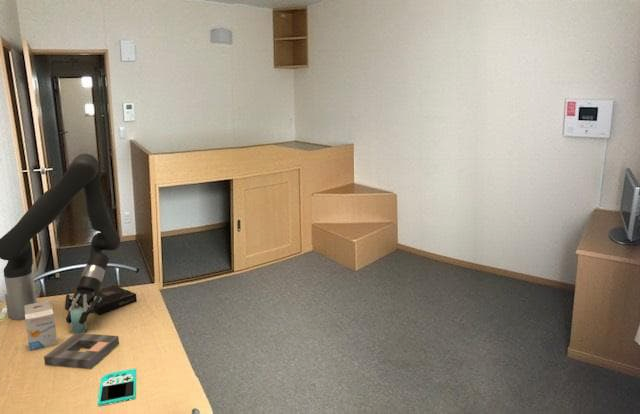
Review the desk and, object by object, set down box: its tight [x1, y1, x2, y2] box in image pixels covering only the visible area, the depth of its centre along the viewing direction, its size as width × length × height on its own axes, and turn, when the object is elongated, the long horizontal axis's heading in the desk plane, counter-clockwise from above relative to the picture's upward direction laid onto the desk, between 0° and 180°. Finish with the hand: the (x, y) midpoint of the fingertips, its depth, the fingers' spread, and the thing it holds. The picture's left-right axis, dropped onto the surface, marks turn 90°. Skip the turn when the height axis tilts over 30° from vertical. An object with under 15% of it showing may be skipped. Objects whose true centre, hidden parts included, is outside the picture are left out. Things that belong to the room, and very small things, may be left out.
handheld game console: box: [97, 368, 137, 406], centre depth 141 cm, size 10×16×1 cm, turn 20°
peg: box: [70, 307, 87, 334], centre depth 175 cm, size 4×4×8 cm
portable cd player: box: [79, 285, 137, 316], centre depth 199 cm, size 16×17×4 cm
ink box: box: [24, 300, 58, 351], centre depth 164 cm, size 8×5×15 cm, turn 123°
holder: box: [43, 332, 120, 370], centre depth 159 cm, size 16×16×3 cm
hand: (74, 322), depth 173 cm, fingers closed on peg, 4 cm apart
